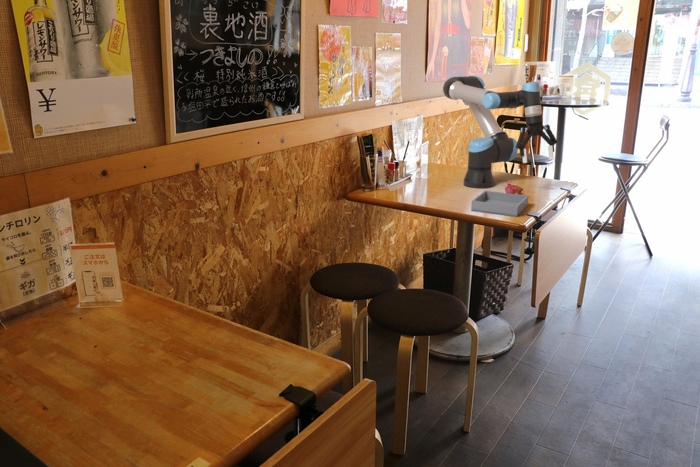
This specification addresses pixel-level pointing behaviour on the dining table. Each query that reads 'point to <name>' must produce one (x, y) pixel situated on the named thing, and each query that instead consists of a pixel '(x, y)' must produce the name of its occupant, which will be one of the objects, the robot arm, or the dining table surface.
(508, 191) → the flower
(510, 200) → the bin
